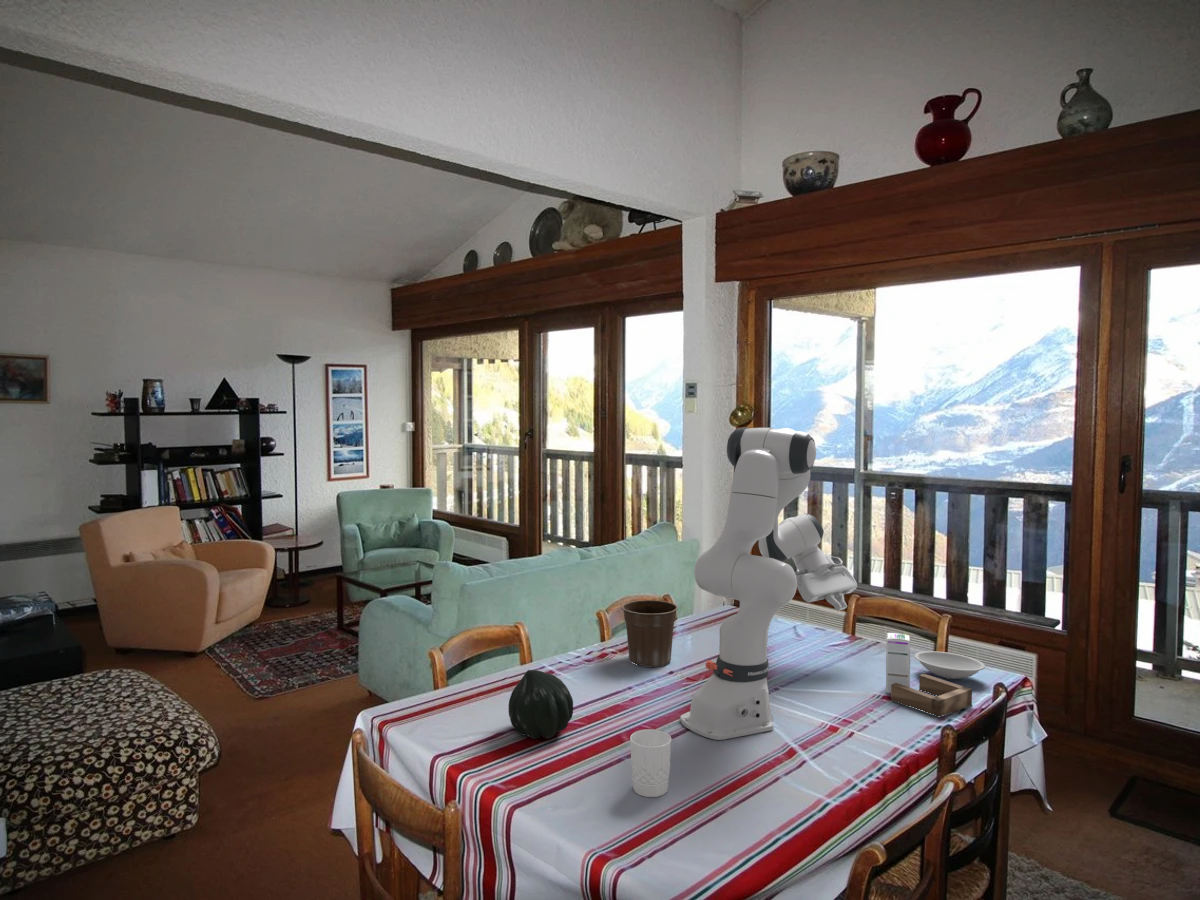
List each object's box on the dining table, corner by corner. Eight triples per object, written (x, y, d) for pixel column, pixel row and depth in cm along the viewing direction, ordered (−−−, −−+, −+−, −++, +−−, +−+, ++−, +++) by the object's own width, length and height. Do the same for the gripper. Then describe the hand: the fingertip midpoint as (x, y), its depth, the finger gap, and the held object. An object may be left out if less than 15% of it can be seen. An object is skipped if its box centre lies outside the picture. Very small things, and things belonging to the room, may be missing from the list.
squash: (595, 705, 170) (558, 650, 174) (559, 732, 157) (519, 672, 161) (557, 735, 176) (522, 681, 180) (519, 763, 163) (482, 704, 167)
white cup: (668, 778, 147) (668, 729, 147) (673, 799, 140) (673, 746, 139) (628, 779, 147) (628, 729, 147) (631, 799, 139) (631, 747, 139)
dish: (907, 678, 204) (907, 660, 204) (922, 664, 215) (922, 647, 215) (977, 693, 193) (978, 674, 193) (989, 678, 204) (990, 660, 204)
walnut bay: (938, 717, 177) (939, 701, 177) (890, 700, 188) (891, 684, 188) (971, 705, 185) (972, 689, 185) (923, 688, 196) (924, 673, 196)
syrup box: (909, 696, 191) (911, 640, 190) (885, 692, 193) (886, 637, 192) (909, 688, 196) (910, 634, 195) (885, 685, 198) (886, 631, 198)
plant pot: (612, 656, 221) (612, 602, 220) (659, 649, 228) (660, 597, 227) (637, 673, 207) (638, 616, 206) (687, 665, 213) (688, 610, 213)
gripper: (796, 566, 209) (824, 608, 201) (844, 557, 220) (872, 597, 212) (784, 579, 213) (811, 621, 205) (831, 569, 224) (858, 609, 216)
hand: (842, 608), depth 209 cm, fingers closed
